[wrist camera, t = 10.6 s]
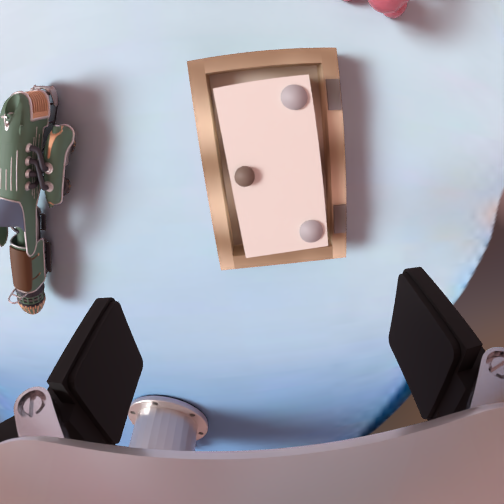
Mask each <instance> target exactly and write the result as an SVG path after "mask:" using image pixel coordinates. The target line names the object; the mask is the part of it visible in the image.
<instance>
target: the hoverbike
mask: <svg viewBox="0 0 504 504" xmlns="http://www.w3.org/2000/svg"><path fill="white" fill-rule="evenodd" d="M41 89H45V90H46V91H47V92H45V91H43V90H41ZM50 94H51V96H52V99H53V103H50V100H49V95H50ZM58 102H59V100H58V95H57V91H56V89H55V88H54V86H52V87H51V86H36V85H34V87H33V88H31V90H30V91H28V92H23V91H17V92H15V93H13V94H12V95H11V96H10V97H9V98H8V99H7V100H6V101H5V103H4V105H3V108H2V111H1V114H0V246H1V247H2V246H4V244H5V243H6V241H7V237H8V227H11V229H12V230H13V231H15V232H16V233H17V234H15V235H14V236H13V237H12V238H11V240H10V243H11V245H10V260H11V268H12V276H13V284H14V287H15V289H14V290H13V291H12V293H11V294H10V296H9V298H8V300H9V302H10V303H12V304H16V303H18V304H19V305H20V307H21V308H22V309H23V310H24V311H25V312H27V313H29V314H36V313H38V312H39V311H40V310H41V309H42V308H43V305H44V303H45V299H46V298H45V293H44V287H45V286H44V281H45V279H46V274H47V272H51V271H52V270H51V244H50V242H47V240H46V239H45V238H41V234H40V230H46V214H39V213H41V210H40V208H38V207H37V203H38V199H39V194H40V190H41V189H42V190H44V191H45V195H46V199H47V202H48V203H49V207H53V205H58V204H60V203H61V202H62V201H63V196H64V195H66V194H67V193H69V192H68V191H69V190H70V187H71V185H70V182H69V180H68V179H66V178H65V177H64V175H65V165H68V163H69V154H70V153H72V152H73V151H74V147H75V144H76V143H75V141H74V136H75V131H74V129H73V128H72V127H71V126H70V125H67V124H61V125H55V122H56V113H57V107H58ZM53 104H54V106H57V107H56V113H55V120H54V121H51V122H49V117H50V105H53ZM50 123H54V124H53V127H52V130H51V132H50V133H49V135H48V137H47V140H46V143H45V146H44V148H43V149H42V147H43V134H44V128H45V127H47V126H48V125H49V124H50ZM43 150H44V156H43V154H42V151H43ZM43 173H44V176H43ZM40 215H41V228H42V229H40ZM14 227H16V229H15V228H14ZM44 240H45V241H46V242H44ZM45 248H46V251H45ZM45 253H46V258H45ZM45 259H46V264H45ZM15 290H16V292H17V295H14V294H13V292H14V291H15ZM11 295H14V296H16V297H17V300H18V301H17V302H11V301H10V297H11Z"/></svg>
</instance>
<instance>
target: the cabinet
mask: <svg viewBox="0 0 504 504" xmlns="http://www.w3.org/2000/svg"><path fill="white" fill-rule="evenodd" d="M187 65H188V72H189V79H190V87H191V94H192V100H193V107H194V114H195V121H196V127H197V134H198V140H199V146H200V153H201V159H202V165H203V171H204V177H205V183H206V189H207V195H208V201H209V206H210V212H211V218H212V223H213V229H214V234H215V240H216V245H217V251H218V256H219V262H220V267H221V270H228V269H238V268H248V267H258V266H268V265H277V264H287V263H297V262H306V261H315V260H325V259H334V258H343V257H346V167H345V144H344V126H343V112H342V99H341V88H340V77H339V68H338V59H337V51H336V48H296V49H279V50H266V51H255V52H246V53H237V54H230V55H223V56H216V57H210V58H204V59H198V60H192V61H187ZM308 74H309V79H310V85H311V92H312V98H313V105H314V112H315V119H316V127H317V135H318V143H319V151H320V160H321V169H322V178H323V188H324V199H325V210H326V223H327V236H328V246H324V247H318V248H311V249H304V250H297V251H291V252H284V253H277V254H271V255H264V256H257V257H250V258H246V256H245V251H244V246H243V241H242V236H241V231H240V226H239V221H238V216H237V211H236V206H235V200H234V195H233V190H232V185H231V180H230V175H229V170H228V165H227V160H226V155H225V150H224V145H223V139H222V134H221V129H220V124H219V119H218V114H217V109H216V103H215V98H214V93H213V88H218V87H223V86H228V85H234V84H239V83H245V82H252V81H258V80H265V79H272V78H280V77H289V76H298V75H308Z"/></svg>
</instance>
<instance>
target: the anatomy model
mask: <svg viewBox="0 0 504 504" xmlns="http://www.w3.org/2000/svg"><path fill="white" fill-rule="evenodd" d="M343 1H351V0H343ZM408 1H409V0H368V2H369V4H370V5H371V6H372V7H373V8H374V9H375V10H376V11H378V12H381V13H383V14H384V15H385V16H387V17H389V18H397V17H399V16H400V15H402V13H403V12H404V11H405V10H406V7H407V2H408Z"/></svg>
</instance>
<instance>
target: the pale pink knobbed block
mask: <svg viewBox="0 0 504 504" xmlns="http://www.w3.org/2000/svg"><path fill="white" fill-rule="evenodd" d="M213 93H214V98H215V103H216V109H217V114H218V119H219V124H220V129H221V134H222V139H223V145H224V150H225V155H226V160H227V165H228V170H229V175H230V180H231V185H232V190H233V195H234V200H235V206H236V211H237V216H238V221H239V226H240V231H241V236H242V241H243V246H244V251H245V256H246V258H250V257H257V256H264V255H271V254H277V253H284V252H291V251H297V250H304V249H311V248H318V247H324V246H328V236H327V223H326V210H325V199H324V188H323V178H322V169H321V160H320V151H319V143H318V135H317V127H316V119H315V112H314V105H313V98H312V92H311V85H310V79H309V74H308V75H298V76H289V77H280V78H272V79H265V80H258V81H252V82H245V83H239V84H234V85H228V86H223V87H218V88H213Z"/></svg>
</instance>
